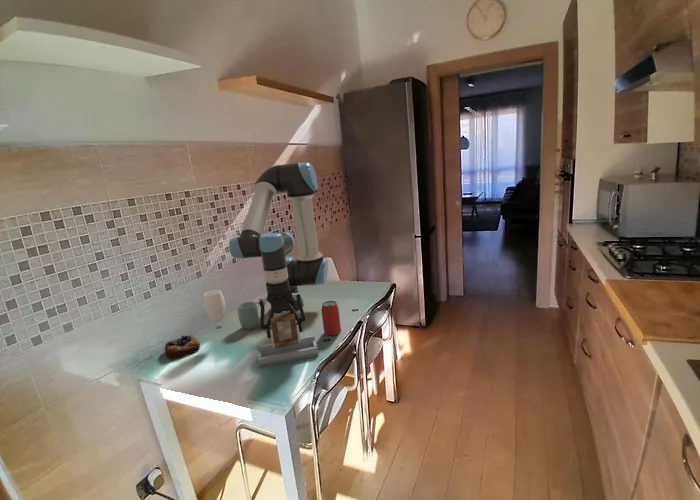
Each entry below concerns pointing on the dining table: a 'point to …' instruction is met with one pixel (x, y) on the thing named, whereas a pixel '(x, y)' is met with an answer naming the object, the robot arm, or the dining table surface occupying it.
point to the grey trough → (287, 352)
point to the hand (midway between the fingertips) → (286, 343)
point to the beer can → (331, 318)
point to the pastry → (181, 347)
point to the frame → (284, 329)
